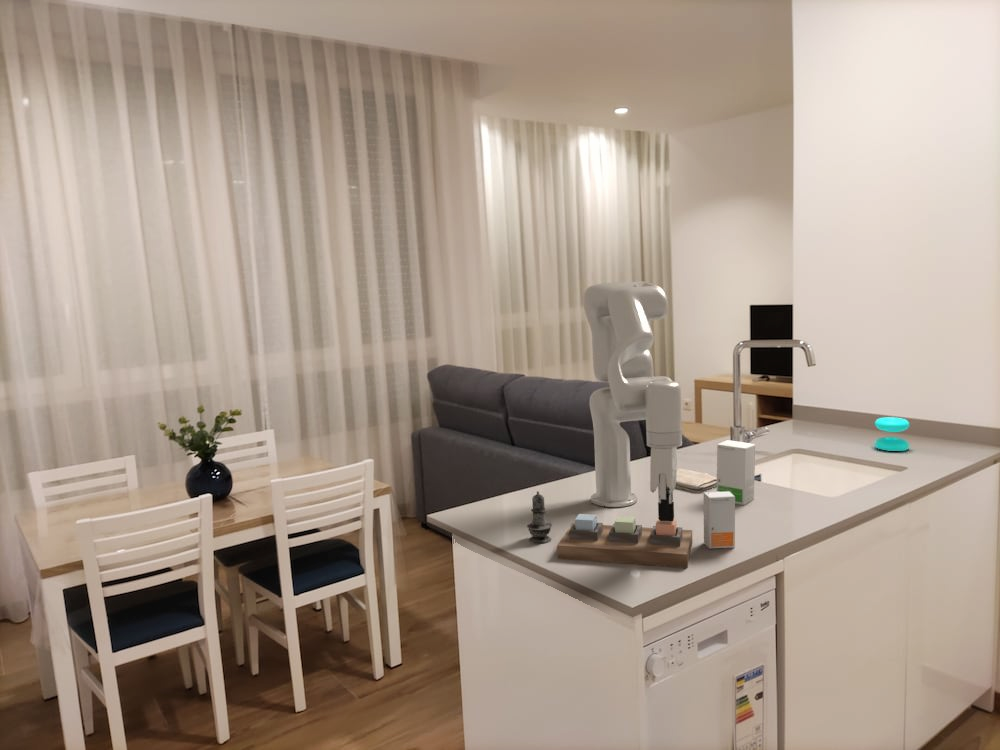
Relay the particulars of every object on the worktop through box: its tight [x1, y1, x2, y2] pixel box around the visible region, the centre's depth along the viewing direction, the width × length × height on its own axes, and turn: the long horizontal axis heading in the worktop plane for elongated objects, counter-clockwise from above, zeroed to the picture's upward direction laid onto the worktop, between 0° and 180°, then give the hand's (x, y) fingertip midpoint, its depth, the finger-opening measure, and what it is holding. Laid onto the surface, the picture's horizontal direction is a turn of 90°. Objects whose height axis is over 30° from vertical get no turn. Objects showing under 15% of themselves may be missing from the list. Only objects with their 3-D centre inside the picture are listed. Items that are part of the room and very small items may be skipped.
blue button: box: [574, 513, 597, 531], centre depth 167 cm, size 4×4×3 cm
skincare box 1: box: [703, 491, 736, 550], centre depth 164 cm, size 6×4×12 cm
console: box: [556, 522, 693, 569], centre depth 165 cm, size 15×28×5 cm, turn 71°
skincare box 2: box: [716, 439, 756, 506], centre depth 196 cm, size 8×7×16 cm
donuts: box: [874, 416, 910, 452], centre depth 241 cm, size 10×10×10 cm
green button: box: [614, 515, 637, 533], centre depth 164 cm, size 4×4×3 cm
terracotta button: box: [655, 517, 677, 536], centre depth 161 cm, size 4×4×3 cm
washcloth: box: [674, 468, 717, 494], centre depth 214 cm, size 12×18×3 cm, turn 39°
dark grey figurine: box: [526, 490, 552, 545], centre depth 174 cm, size 6×6×12 cm
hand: (666, 519), depth 161 cm, fingers closed
